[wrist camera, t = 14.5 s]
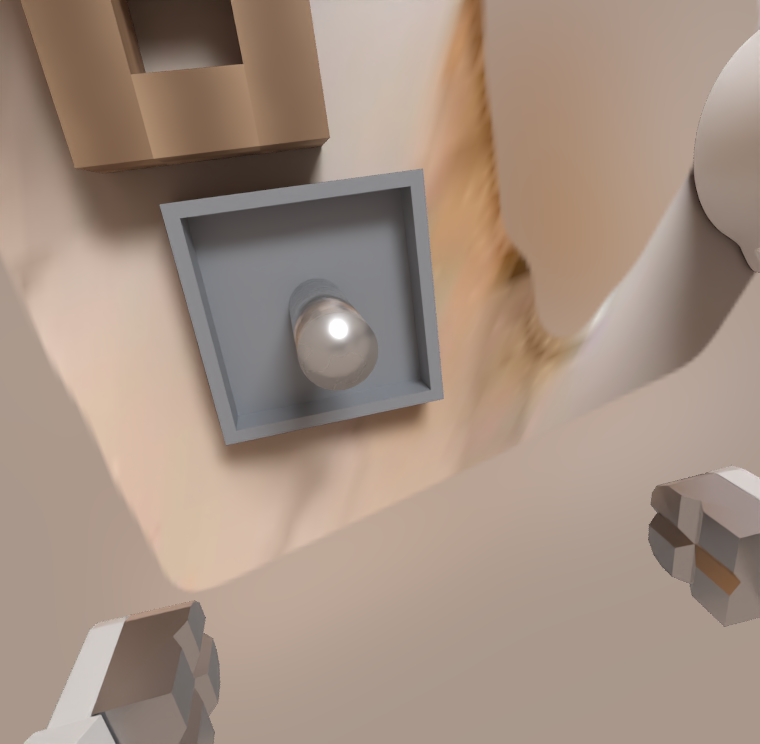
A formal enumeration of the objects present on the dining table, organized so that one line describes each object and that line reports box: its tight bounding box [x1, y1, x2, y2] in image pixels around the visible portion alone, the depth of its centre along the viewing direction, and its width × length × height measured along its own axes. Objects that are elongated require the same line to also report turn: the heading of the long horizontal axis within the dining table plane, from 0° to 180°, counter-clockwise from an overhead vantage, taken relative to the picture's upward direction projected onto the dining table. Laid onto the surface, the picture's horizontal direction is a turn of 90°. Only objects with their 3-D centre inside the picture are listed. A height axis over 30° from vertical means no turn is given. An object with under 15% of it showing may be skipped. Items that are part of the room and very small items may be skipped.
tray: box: [159, 169, 444, 445], centre depth 29 cm, size 14×14×3 cm
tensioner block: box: [20, 0, 330, 173], centre depth 23 cm, size 12×12×4 cm
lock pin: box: [289, 279, 378, 390], centre depth 26 cm, size 4×4×10 cm
